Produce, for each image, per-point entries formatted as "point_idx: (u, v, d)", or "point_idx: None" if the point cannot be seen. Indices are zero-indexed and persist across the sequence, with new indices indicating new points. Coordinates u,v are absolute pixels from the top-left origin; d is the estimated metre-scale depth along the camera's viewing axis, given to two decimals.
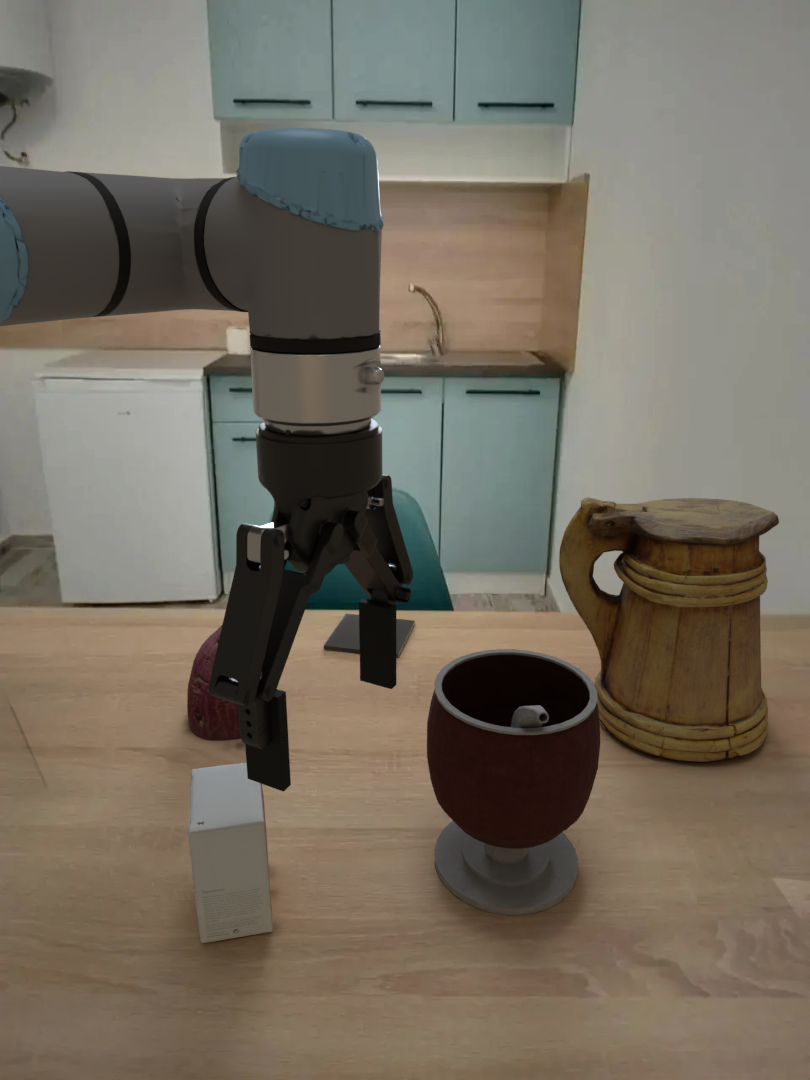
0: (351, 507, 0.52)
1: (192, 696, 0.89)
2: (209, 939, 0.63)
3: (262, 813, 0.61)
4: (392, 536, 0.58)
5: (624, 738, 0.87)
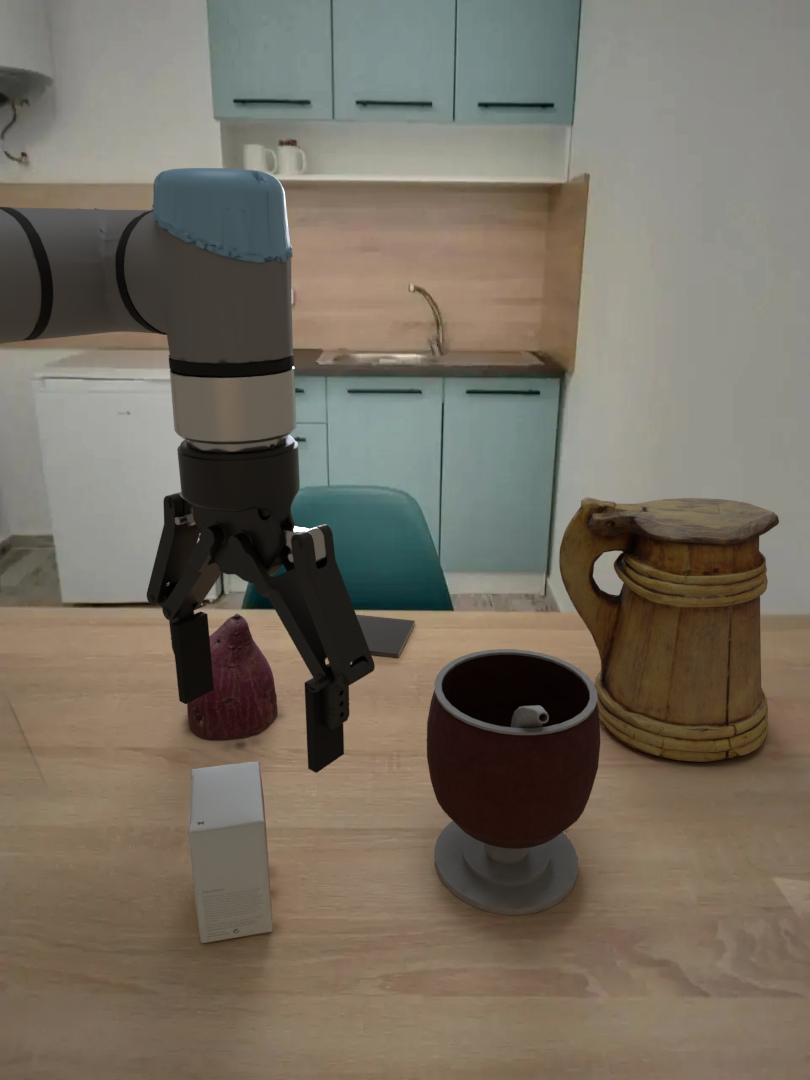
0: None
1: None
2: (209, 939, 0.63)
3: (262, 813, 0.61)
4: (195, 546, 0.60)
5: (624, 738, 0.87)
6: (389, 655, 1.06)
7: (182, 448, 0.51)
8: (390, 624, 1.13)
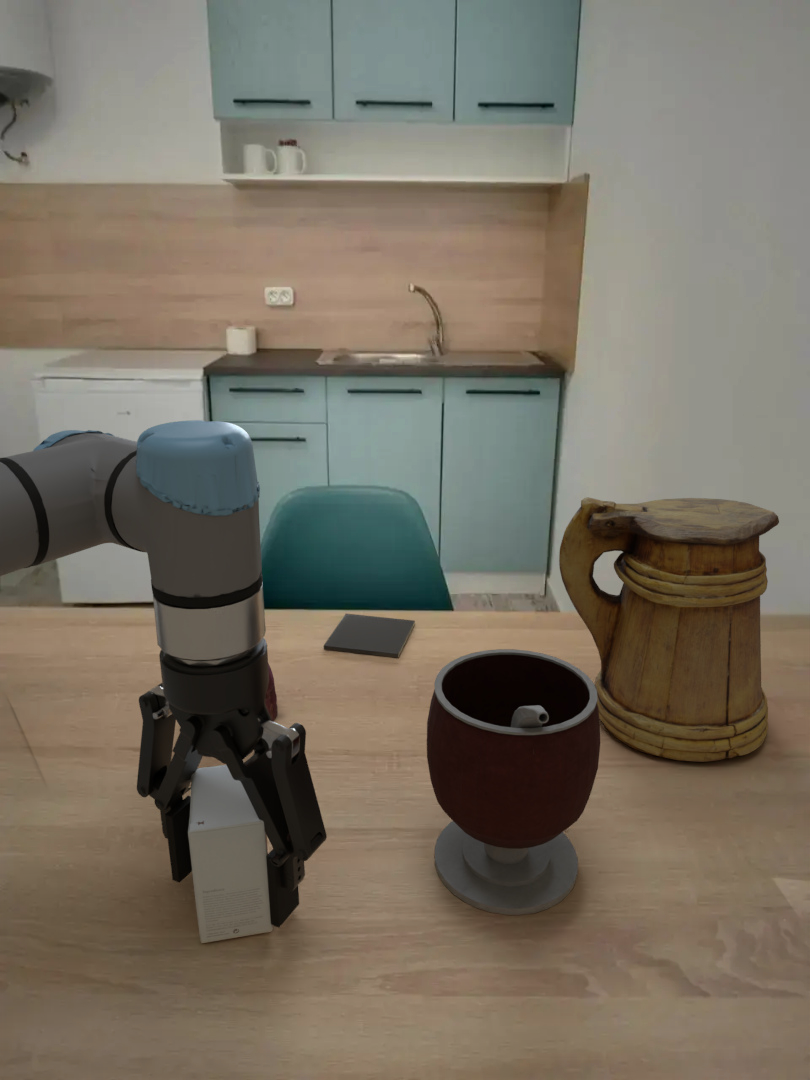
0: None
1: None
2: (209, 939, 0.63)
3: None
4: (173, 733, 0.66)
5: (624, 738, 0.87)
6: (389, 655, 1.06)
7: (166, 661, 0.57)
8: (390, 624, 1.13)
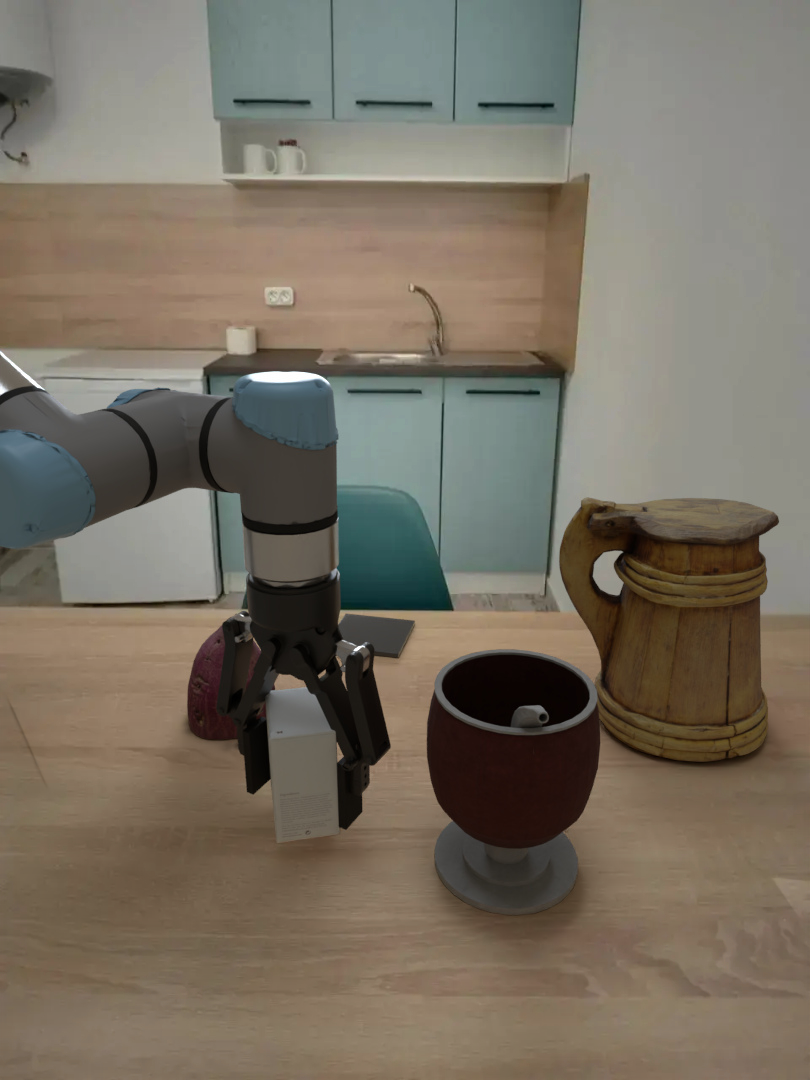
0: None
1: (192, 696, 0.89)
2: (284, 839, 0.70)
3: None
4: (250, 658, 0.74)
5: (624, 738, 0.87)
6: (389, 655, 1.06)
7: (254, 584, 0.65)
8: (390, 624, 1.13)
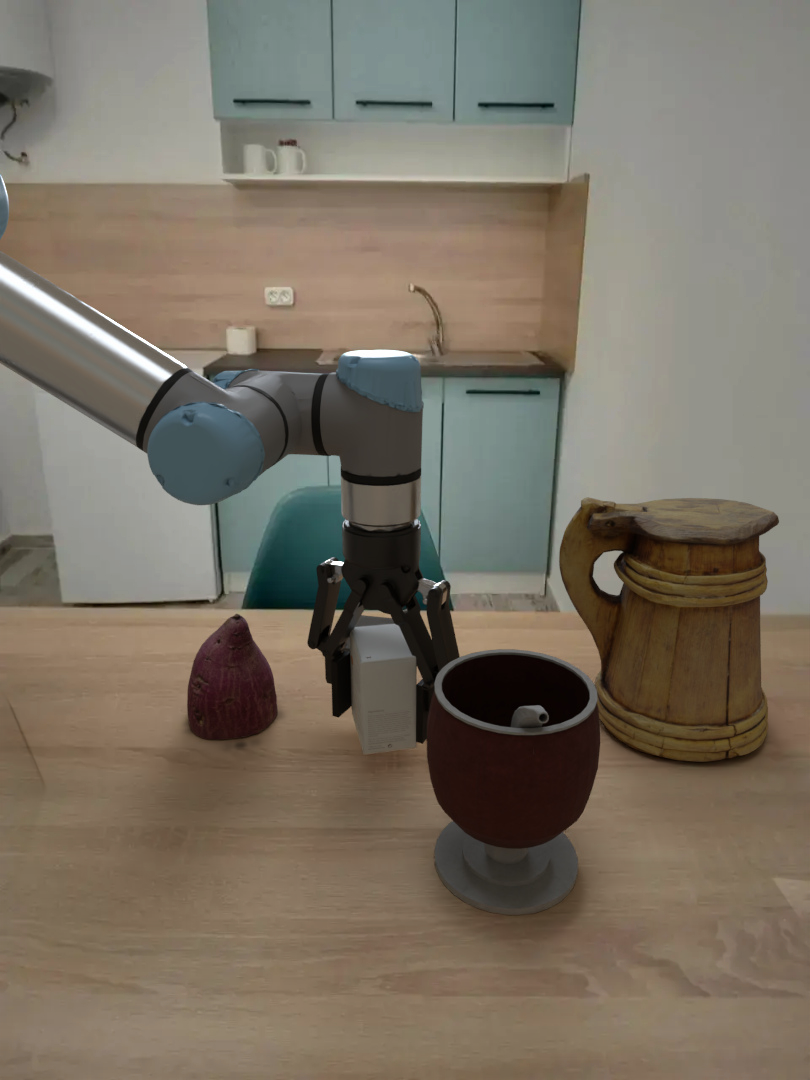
0: None
1: (192, 696, 0.89)
2: (369, 751, 0.82)
3: None
4: (337, 599, 0.86)
5: (624, 738, 0.87)
6: None
7: (350, 529, 0.76)
8: None
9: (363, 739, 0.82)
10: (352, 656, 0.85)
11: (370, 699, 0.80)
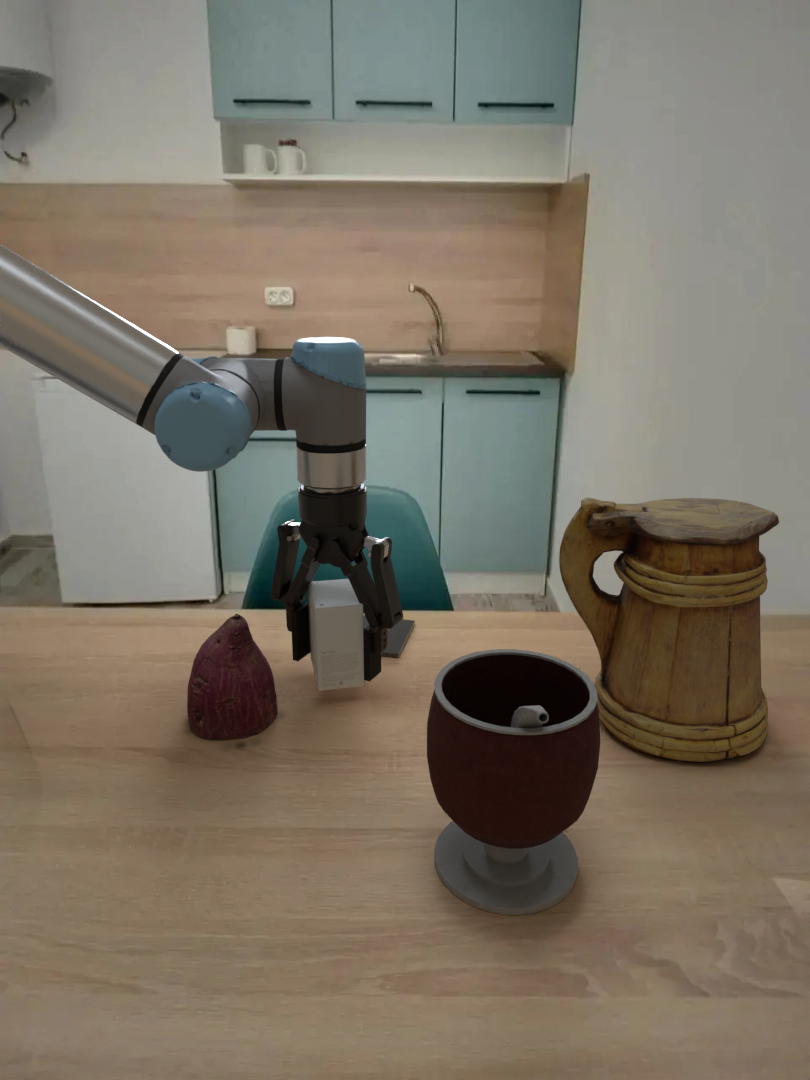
0: None
1: (192, 696, 0.89)
2: (323, 688, 0.94)
3: None
4: (296, 556, 0.98)
5: (624, 738, 0.87)
6: (389, 655, 1.06)
7: (304, 492, 0.89)
8: None
9: (317, 677, 0.94)
10: (309, 606, 0.97)
11: (323, 641, 0.92)
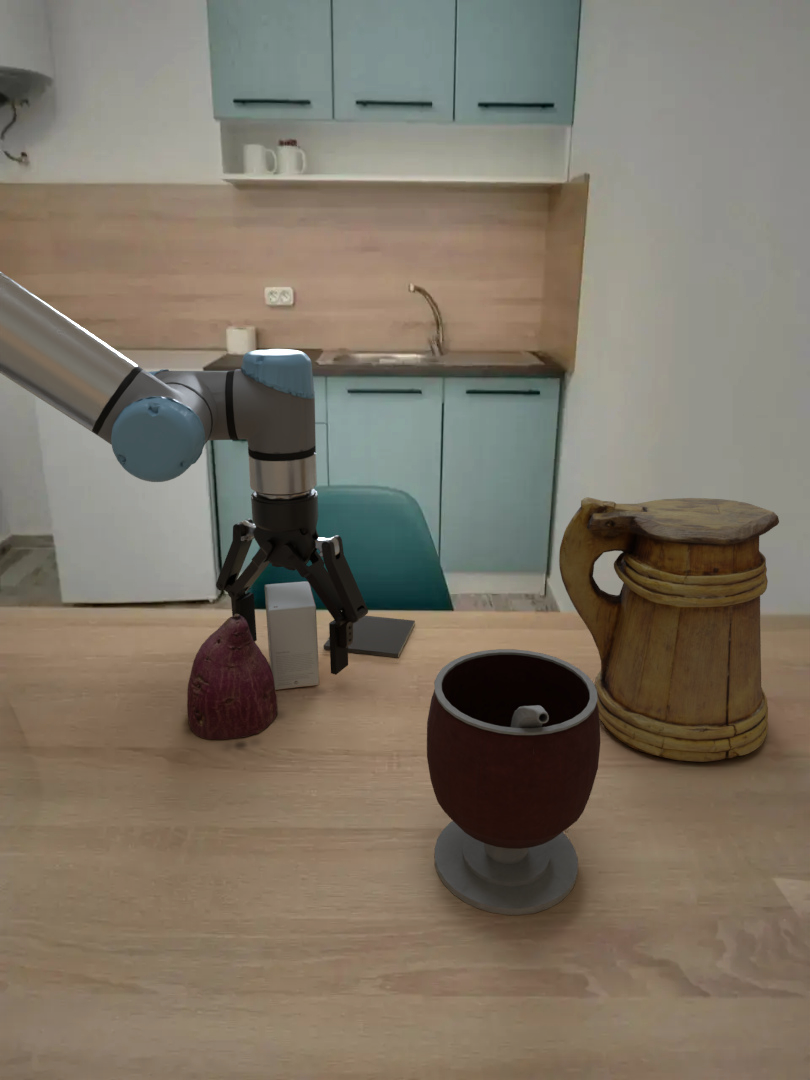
0: None
1: (192, 696, 0.89)
2: (279, 687, 0.98)
3: (314, 603, 0.96)
4: None
5: (624, 738, 0.87)
6: (389, 655, 1.06)
7: (256, 498, 0.92)
8: (390, 624, 1.13)
9: (273, 676, 0.97)
10: (266, 608, 1.01)
11: (277, 642, 0.96)
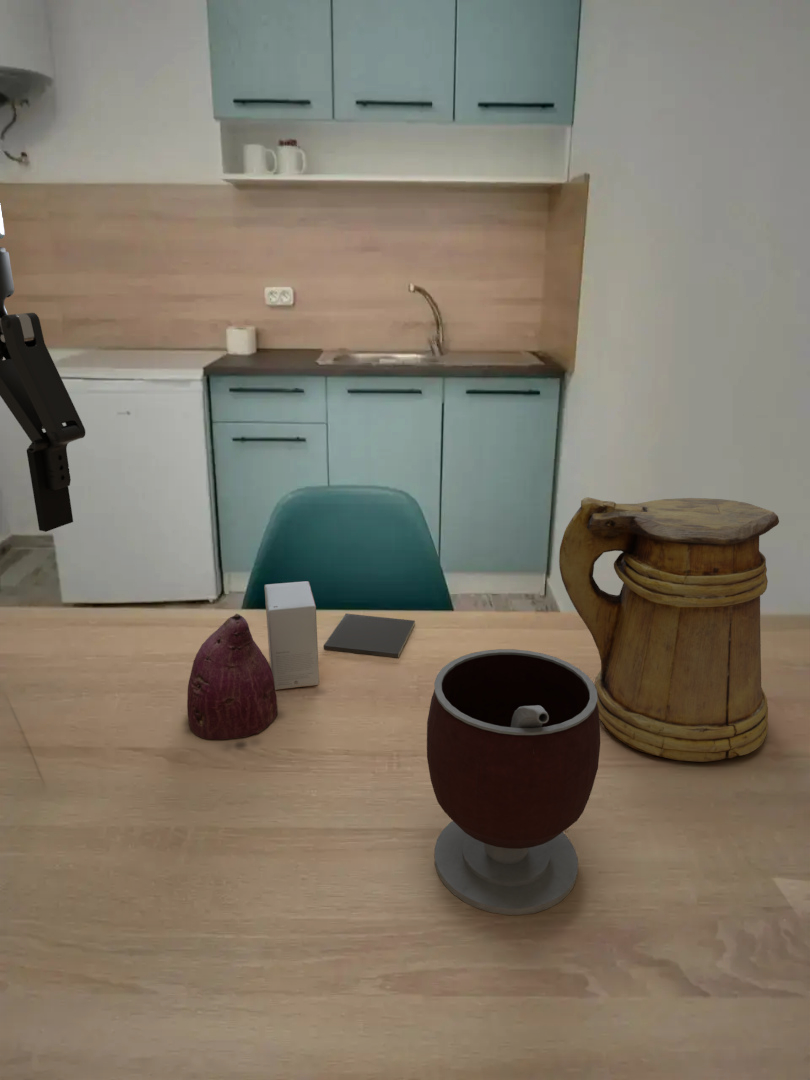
0: None
1: (192, 696, 0.89)
2: (279, 687, 0.98)
3: (314, 602, 0.96)
4: None
5: (624, 738, 0.87)
6: (389, 655, 1.06)
7: None
8: (390, 624, 1.13)
9: (273, 676, 0.97)
10: (266, 608, 1.01)
11: (277, 642, 0.96)
